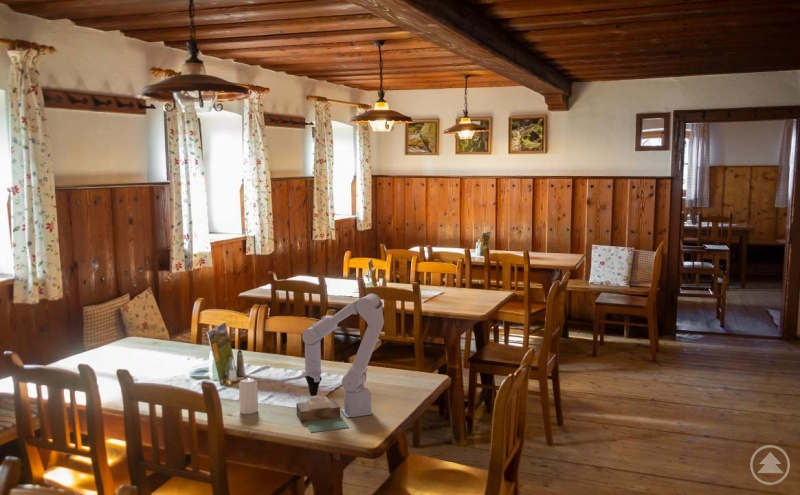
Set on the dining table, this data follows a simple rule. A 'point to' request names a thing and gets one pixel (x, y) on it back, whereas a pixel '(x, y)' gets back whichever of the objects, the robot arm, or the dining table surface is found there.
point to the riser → (317, 412)
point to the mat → (326, 425)
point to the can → (248, 396)
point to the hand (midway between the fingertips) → (313, 395)
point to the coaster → (318, 403)
